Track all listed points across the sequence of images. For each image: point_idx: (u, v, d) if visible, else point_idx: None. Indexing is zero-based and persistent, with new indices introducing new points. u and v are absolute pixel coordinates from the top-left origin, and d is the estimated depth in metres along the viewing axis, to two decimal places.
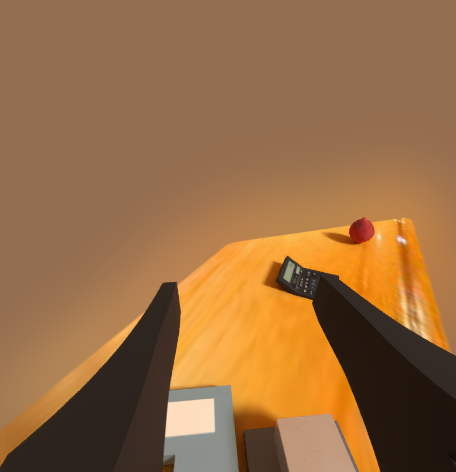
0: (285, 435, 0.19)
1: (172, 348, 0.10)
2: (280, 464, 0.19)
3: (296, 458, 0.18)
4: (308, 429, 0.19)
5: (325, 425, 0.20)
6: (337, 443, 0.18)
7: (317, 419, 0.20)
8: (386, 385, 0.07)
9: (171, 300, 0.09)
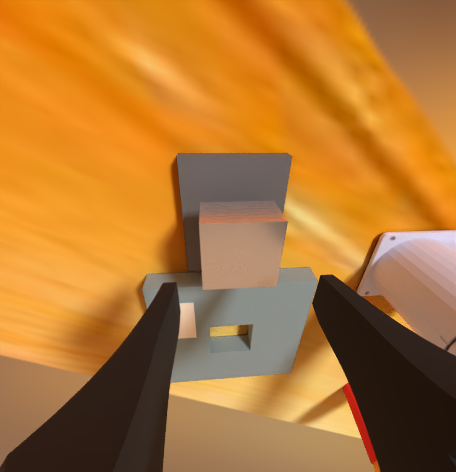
0: (221, 284, 0.15)
1: (172, 348, 0.10)
2: None
3: (244, 279, 0.15)
4: (217, 259, 0.14)
5: (214, 237, 0.13)
6: (236, 230, 0.13)
7: (206, 244, 0.13)
8: (386, 385, 0.07)
9: (171, 300, 0.09)
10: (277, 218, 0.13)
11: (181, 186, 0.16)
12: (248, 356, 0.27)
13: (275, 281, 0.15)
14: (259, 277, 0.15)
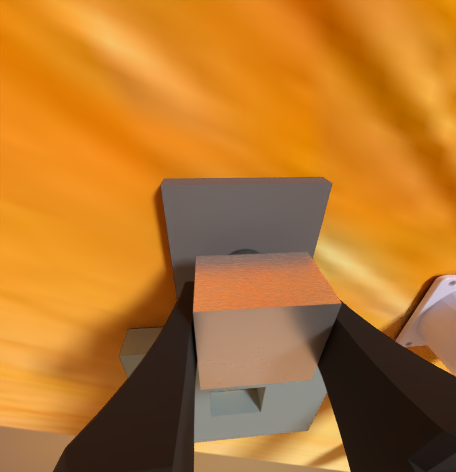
0: (228, 382, 0.10)
1: None
2: None
3: (263, 374, 0.10)
4: (223, 355, 0.09)
5: (218, 328, 0.08)
6: (256, 319, 0.08)
7: (205, 338, 0.08)
8: (356, 388, 0.07)
9: None
10: (323, 295, 0.08)
11: (169, 226, 0.11)
12: (258, 417, 0.21)
13: (310, 375, 0.10)
14: (286, 371, 0.10)
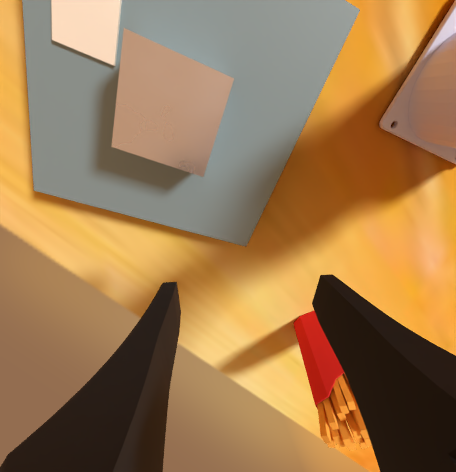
0: (136, 147, 0.12)
1: (172, 348, 0.10)
2: None
3: (166, 149, 0.12)
4: (138, 102, 0.11)
5: (140, 61, 0.10)
6: (170, 64, 0.10)
7: (127, 70, 0.10)
8: (386, 385, 0.07)
9: (171, 300, 0.09)
10: None
11: None
12: (195, 176, 0.16)
13: (203, 168, 0.13)
14: (185, 154, 0.12)
